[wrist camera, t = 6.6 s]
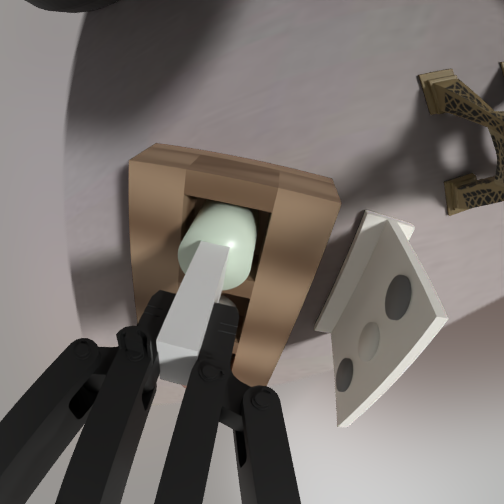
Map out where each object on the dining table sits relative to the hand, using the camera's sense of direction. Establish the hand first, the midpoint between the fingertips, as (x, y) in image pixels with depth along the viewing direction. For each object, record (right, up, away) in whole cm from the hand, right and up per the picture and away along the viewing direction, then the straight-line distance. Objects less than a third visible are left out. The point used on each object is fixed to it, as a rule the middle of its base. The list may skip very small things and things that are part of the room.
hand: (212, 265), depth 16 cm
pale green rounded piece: (+1, +3, +4) cm, 5 cm away
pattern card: (+11, -2, +7) cm, 13 cm away
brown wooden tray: (-1, -2, +9) cm, 9 cm away
